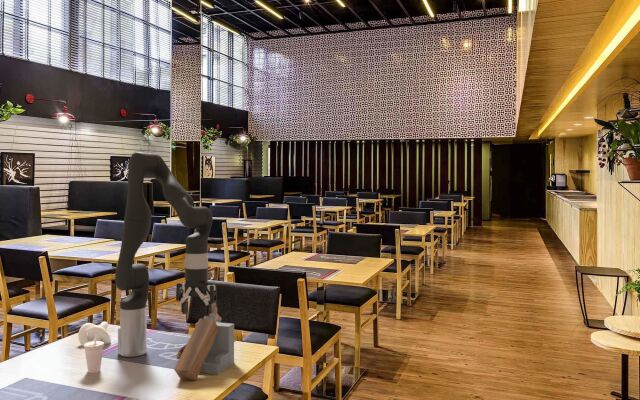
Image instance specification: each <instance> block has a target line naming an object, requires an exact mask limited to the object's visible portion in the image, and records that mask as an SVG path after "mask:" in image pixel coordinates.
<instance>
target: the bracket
mask: <svg viewBox="0 0 640 400" xmlns="http://www.w3.org/2000/svg"><path fill="white" fill-rule="evenodd" d="M197 323H198V322H196V323H195V326H196V325H197ZM216 324H217V326H218V328H219V331H218V333H217V336H216V338H215V340H214V342H213V344H212V346H211V349H210V351H209V353H208V355H207V357H206V359H205V362H204V364H203V366H202V368H201V370H200V372H199V373H203V374H204V373H205V374H212V375H219V374H220V373H222V372H223V371H225V370H226V369H227V368H229V367H230V366H232V365H233V364H235V323H230V322H220V323H219V322H216Z"/></svg>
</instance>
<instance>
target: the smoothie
mask: <svg viewBox="0 0 640 400" xmlns="http://www.w3.org/2000/svg"><path fill="white" fill-rule="evenodd" d="M104 347H105V344H104V342H102V341H96V330H94V341H93V342H88V343H85V344H84V346H83V349H84V353H85V360H86V366H87V372H88V373H89V374H96V373H100V372H101V367H102V359H103V350H104Z"/></svg>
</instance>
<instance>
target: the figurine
mask: <svg viewBox="0 0 640 400" xmlns="http://www.w3.org/2000/svg"><path fill="white" fill-rule="evenodd" d="M203 319H212V320H215V322H219V323H221V321H222V316H220V315H219V314H218V306H217V302H215V303H213V304H212V305H211V314H210V315H209V316H205V315H204V317H203Z"/></svg>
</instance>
